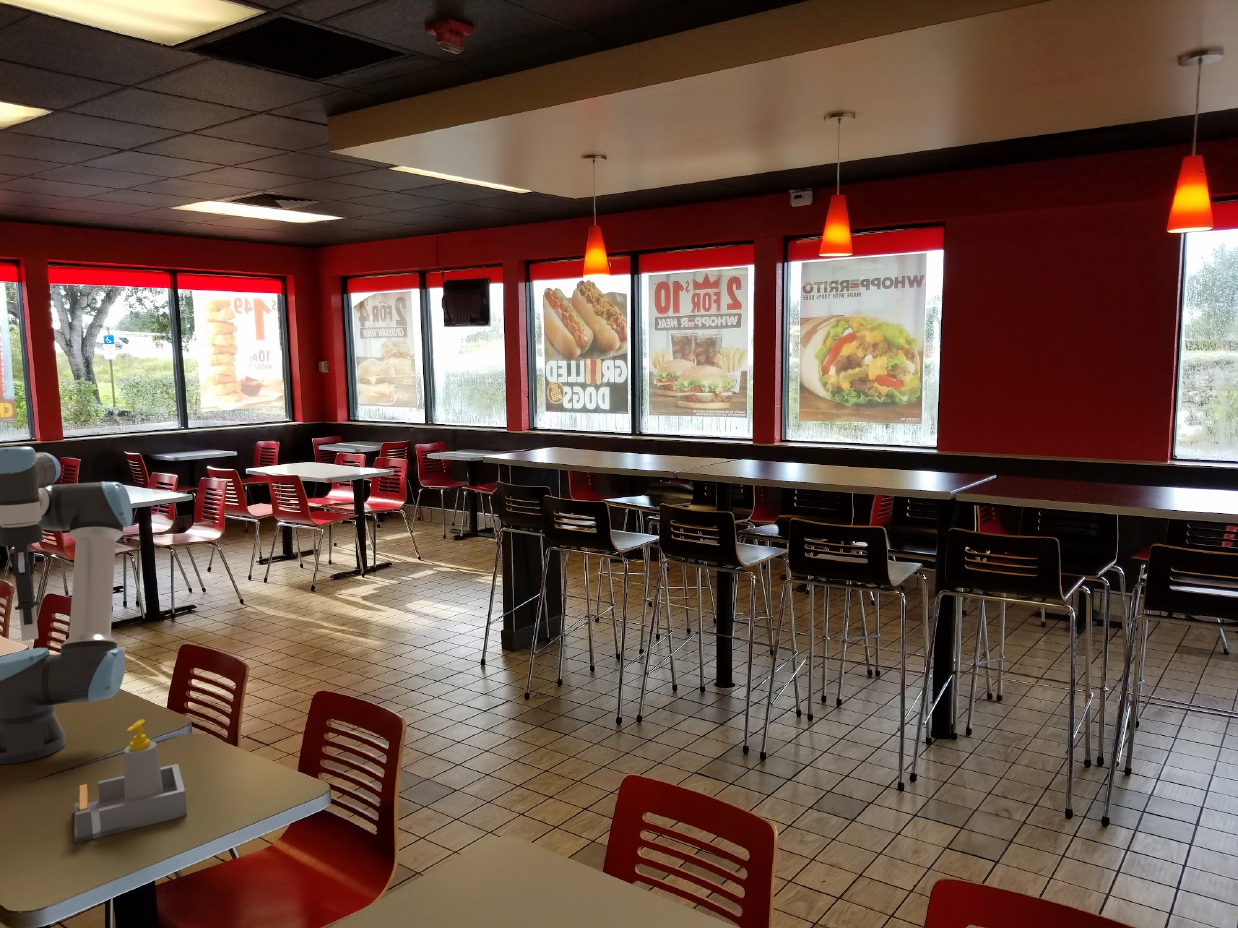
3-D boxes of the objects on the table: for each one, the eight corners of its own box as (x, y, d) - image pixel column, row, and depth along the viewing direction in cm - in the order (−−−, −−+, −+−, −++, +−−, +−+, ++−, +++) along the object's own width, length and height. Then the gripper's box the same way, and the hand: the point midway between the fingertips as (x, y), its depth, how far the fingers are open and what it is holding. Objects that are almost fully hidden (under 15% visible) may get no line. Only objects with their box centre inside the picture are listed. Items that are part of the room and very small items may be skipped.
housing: (75, 810, 176) (73, 784, 175) (179, 786, 185) (177, 761, 185) (75, 843, 163) (72, 815, 162) (186, 815, 173) (184, 788, 172)
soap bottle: (117, 819, 169) (110, 729, 168) (137, 802, 176) (130, 716, 175) (153, 818, 169) (146, 728, 168) (171, 801, 176) (164, 714, 175)
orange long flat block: (81, 804, 176) (79, 785, 175) (88, 802, 176) (86, 783, 176) (81, 829, 165) (79, 809, 165) (88, 827, 166) (87, 807, 166)
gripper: (-2, 522, 180) (9, 634, 182) (-7, 530, 169) (5, 650, 171) (42, 518, 184) (52, 628, 186) (40, 526, 172) (51, 643, 175)
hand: (30, 638), depth 178 cm, fingers closed
